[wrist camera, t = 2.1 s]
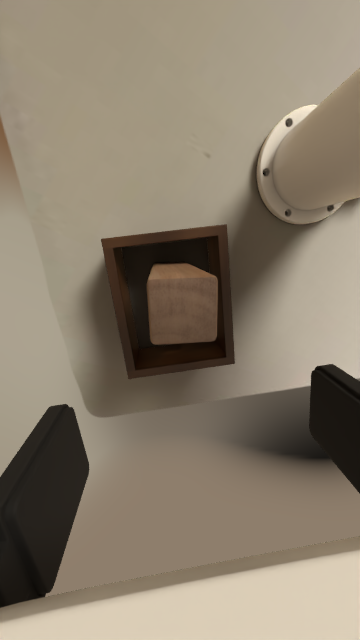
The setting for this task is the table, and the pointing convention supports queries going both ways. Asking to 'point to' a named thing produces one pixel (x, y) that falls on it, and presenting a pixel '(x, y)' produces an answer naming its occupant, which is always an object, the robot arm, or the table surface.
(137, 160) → the table surface
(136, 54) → the table surface
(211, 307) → the wooden block
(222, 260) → the wooden box
